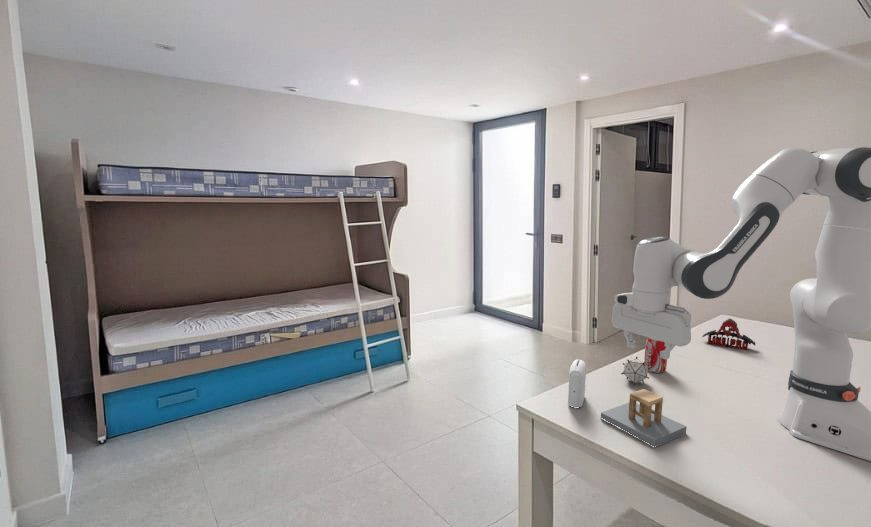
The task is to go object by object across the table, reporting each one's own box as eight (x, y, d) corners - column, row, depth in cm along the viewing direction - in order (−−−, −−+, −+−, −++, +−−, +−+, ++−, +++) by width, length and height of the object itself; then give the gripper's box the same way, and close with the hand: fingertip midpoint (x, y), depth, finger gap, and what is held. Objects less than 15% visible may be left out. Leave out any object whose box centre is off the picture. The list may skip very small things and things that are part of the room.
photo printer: (582, 410, 125) (584, 369, 123) (566, 407, 127) (568, 367, 125) (585, 395, 134) (587, 357, 132) (571, 393, 136) (572, 355, 134)
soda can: (664, 375, 148) (666, 342, 146) (641, 371, 153) (644, 338, 151) (667, 369, 154) (670, 336, 152) (646, 364, 158) (648, 333, 156)
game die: (629, 394, 143) (613, 371, 142) (632, 376, 150) (616, 354, 148) (656, 388, 137) (639, 364, 136) (657, 370, 144) (641, 347, 142)
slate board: (685, 433, 112) (686, 426, 112) (654, 447, 106) (654, 440, 105) (631, 407, 126) (631, 401, 126) (600, 419, 120) (601, 412, 119)
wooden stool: (661, 422, 114) (662, 397, 113) (647, 427, 111) (649, 402, 110) (641, 413, 119) (643, 388, 118) (628, 418, 116) (630, 393, 115)
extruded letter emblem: (701, 342, 182) (703, 316, 180) (702, 340, 185) (704, 315, 183) (754, 351, 171) (757, 324, 169) (754, 349, 174) (757, 322, 172)
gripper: (699, 307, 103) (694, 363, 105) (624, 292, 121) (622, 340, 123) (683, 311, 100) (679, 368, 102) (609, 294, 118) (606, 343, 120)
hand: (647, 352), depth 113 cm, fingers open, 8 cm apart
